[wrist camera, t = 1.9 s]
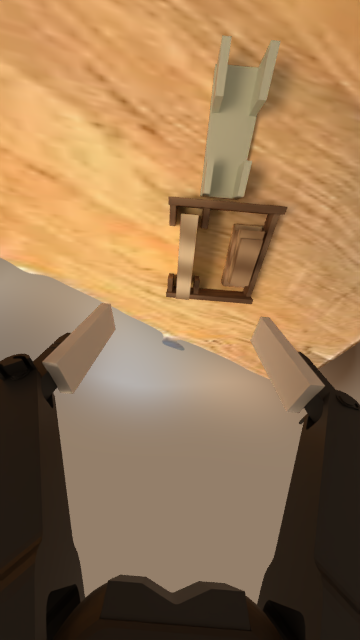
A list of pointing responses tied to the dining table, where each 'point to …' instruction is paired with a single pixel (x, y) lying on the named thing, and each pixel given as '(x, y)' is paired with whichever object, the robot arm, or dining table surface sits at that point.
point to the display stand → (234, 121)
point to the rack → (232, 249)
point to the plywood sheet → (186, 254)
